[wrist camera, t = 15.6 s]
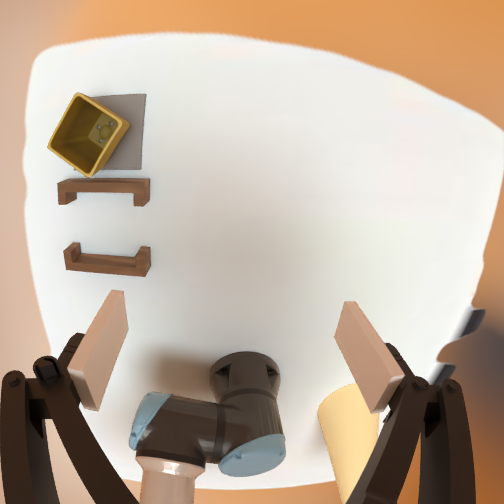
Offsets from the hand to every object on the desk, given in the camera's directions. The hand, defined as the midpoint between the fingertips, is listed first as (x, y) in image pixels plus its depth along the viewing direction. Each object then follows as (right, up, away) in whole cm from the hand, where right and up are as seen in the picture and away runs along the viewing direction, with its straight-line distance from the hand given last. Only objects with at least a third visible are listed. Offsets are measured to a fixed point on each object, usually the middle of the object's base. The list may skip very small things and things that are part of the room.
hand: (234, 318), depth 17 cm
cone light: (+26, -40, +54) cm, 72 cm away
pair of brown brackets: (-23, +9, +29) cm, 38 cm away
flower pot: (-22, +22, +23) cm, 38 cm away
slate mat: (-22, +23, +23) cm, 39 cm away
